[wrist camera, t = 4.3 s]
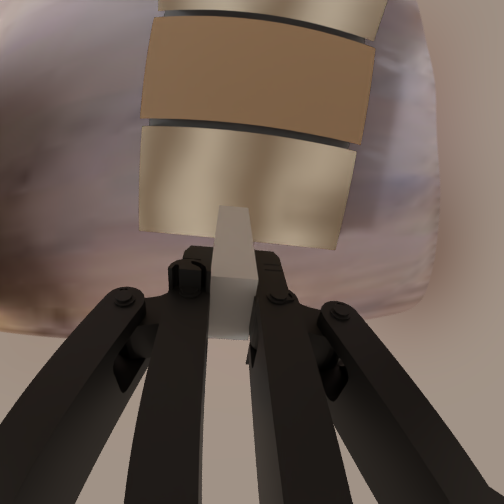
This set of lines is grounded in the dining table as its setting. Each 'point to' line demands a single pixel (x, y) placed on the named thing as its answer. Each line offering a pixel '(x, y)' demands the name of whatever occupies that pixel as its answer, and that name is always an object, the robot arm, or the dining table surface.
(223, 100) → the floor board
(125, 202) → the dining table surface
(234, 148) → the plank
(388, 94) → the dining table surface
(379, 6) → the plank
